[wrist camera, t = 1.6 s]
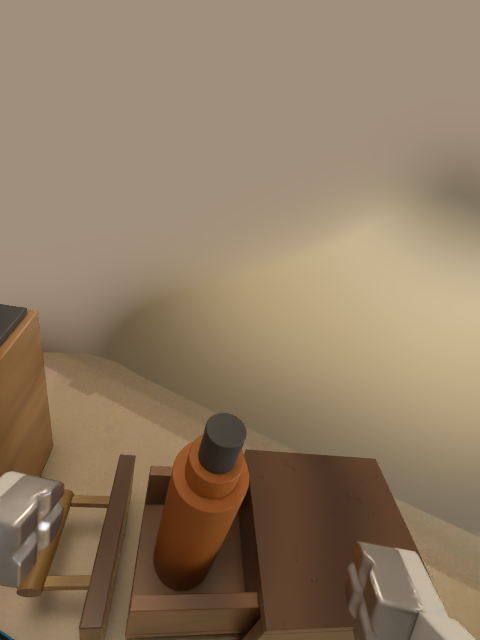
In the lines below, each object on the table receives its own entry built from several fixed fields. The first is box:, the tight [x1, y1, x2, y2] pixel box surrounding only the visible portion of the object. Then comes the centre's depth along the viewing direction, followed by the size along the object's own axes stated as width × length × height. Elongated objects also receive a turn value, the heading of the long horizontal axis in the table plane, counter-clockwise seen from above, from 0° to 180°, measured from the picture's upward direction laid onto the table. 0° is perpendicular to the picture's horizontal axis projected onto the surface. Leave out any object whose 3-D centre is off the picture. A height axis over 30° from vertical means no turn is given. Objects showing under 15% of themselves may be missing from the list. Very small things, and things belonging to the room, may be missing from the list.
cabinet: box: [234, 450, 441, 640], centre depth 27 cm, size 13×12×8 cm
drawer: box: [17, 454, 261, 640], centre depth 24 cm, size 16×10×6 cm, turn 95°
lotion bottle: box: [153, 413, 249, 591], centre depth 21 cm, size 5×5×16 cm
